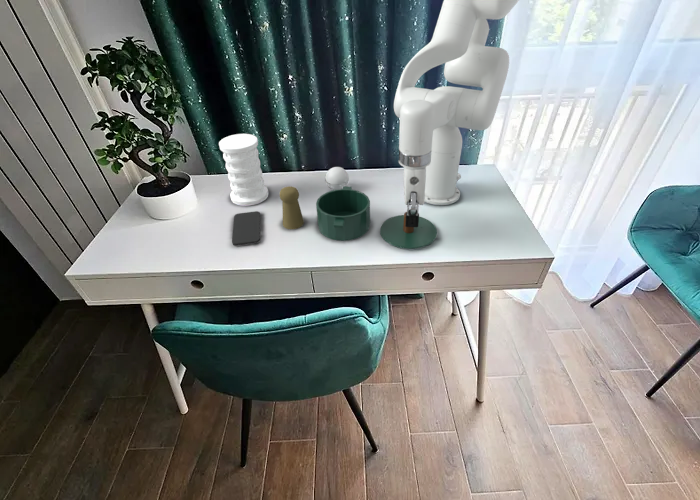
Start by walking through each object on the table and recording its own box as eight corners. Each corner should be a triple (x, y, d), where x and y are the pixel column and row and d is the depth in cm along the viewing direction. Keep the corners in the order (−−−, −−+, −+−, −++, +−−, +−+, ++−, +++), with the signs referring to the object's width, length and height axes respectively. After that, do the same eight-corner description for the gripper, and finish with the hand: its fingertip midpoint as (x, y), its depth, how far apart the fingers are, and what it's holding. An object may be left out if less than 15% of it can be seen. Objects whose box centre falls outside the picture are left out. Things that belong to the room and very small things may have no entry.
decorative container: (223, 199, 124) (208, 144, 113) (249, 183, 132) (238, 130, 121) (250, 209, 119) (237, 153, 108) (276, 192, 127) (267, 138, 116)
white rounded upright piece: (324, 184, 130) (323, 163, 125) (347, 182, 130) (346, 161, 126) (327, 200, 122) (325, 178, 117) (351, 198, 123) (350, 176, 118)
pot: (372, 207, 118) (372, 184, 113) (366, 248, 103) (366, 224, 98) (324, 205, 120) (322, 183, 115) (312, 245, 104) (309, 222, 100)
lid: (435, 218, 112) (437, 200, 109) (438, 252, 101) (440, 232, 97) (381, 216, 114) (381, 198, 110) (378, 249, 102) (378, 230, 98)
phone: (260, 210, 117) (260, 240, 105) (260, 213, 117) (260, 243, 106) (234, 213, 116) (231, 244, 104) (234, 216, 117) (232, 246, 105)
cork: (300, 230, 110) (295, 195, 103) (279, 228, 111) (273, 193, 104) (306, 218, 115) (302, 184, 108) (286, 216, 116) (281, 182, 109)
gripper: (432, 174, 87) (427, 236, 98) (429, 139, 100) (425, 197, 111) (397, 174, 88) (396, 235, 99) (399, 139, 101) (398, 196, 112)
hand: (411, 215), depth 105 cm, fingers open, 9 cm apart
